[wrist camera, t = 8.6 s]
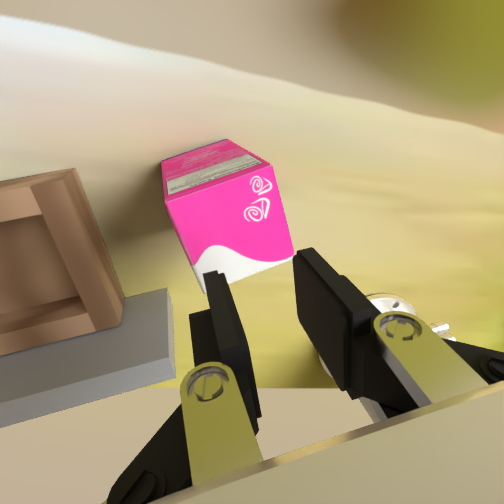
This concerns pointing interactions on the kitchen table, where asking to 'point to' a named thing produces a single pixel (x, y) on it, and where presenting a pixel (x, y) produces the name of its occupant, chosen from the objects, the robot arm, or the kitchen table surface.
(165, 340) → the backstop wall
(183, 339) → the kitchen table surface
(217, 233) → the supplement box
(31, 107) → the kitchen table surface
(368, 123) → the kitchen table surface
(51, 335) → the socket block
